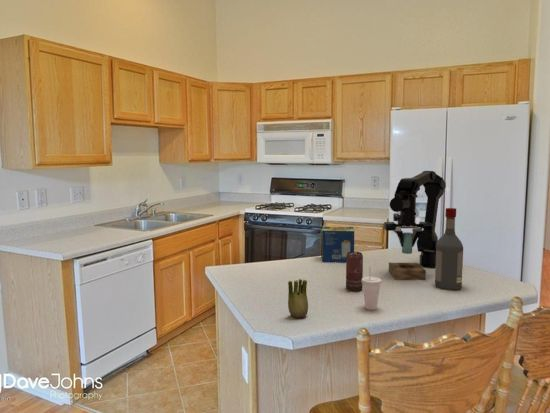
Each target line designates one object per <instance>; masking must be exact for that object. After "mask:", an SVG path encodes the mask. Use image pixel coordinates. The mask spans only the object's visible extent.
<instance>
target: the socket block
mask: <svg viewBox="0 0 550 413" xmlns="http://www.w3.org/2000/svg"><path fill="white" fill-rule="evenodd" d="M426 272H427V270H426V269H425V267H423V266H422V265H420V264H419V262H388V273H389V274H390V275H391V277H392V278H393V280H395V281H426V274H427V273H426Z"/></svg>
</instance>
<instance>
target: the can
mask: <svg viewBox="0 0 550 413" xmlns="http://www.w3.org/2000/svg"><path fill="white" fill-rule="evenodd" d="M362 278H364V255H363V253H362V252H361V251H355V250H354V252H348V253H347V255H346V263H345V288H346V290H347V291H350V292H355V293H357V292H361V291H362V290H363V283H362Z"/></svg>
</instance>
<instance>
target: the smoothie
mask: <svg viewBox="0 0 550 413" xmlns="http://www.w3.org/2000/svg"><path fill="white" fill-rule="evenodd" d="M371 273H372V266H368V276H363V278H362V283H363V288H362V290H363V297H364V298H363V300H364V308H365V309H366V310H373V311H374V310H377V308H378V301H379V294H380V287H381V285H382V279H381V278H379V277H376V276H372V274H371Z"/></svg>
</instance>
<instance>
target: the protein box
mask: <svg viewBox="0 0 550 413" xmlns="http://www.w3.org/2000/svg"><path fill="white" fill-rule="evenodd" d="M354 228H355V227H354V226H322V227H321V262H322V263H335V262H336V263H339V264H340V263H341V264H342V263H344V264H346V255H347V253H348V252H355V229H354ZM336 263H335V264H336Z"/></svg>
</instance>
